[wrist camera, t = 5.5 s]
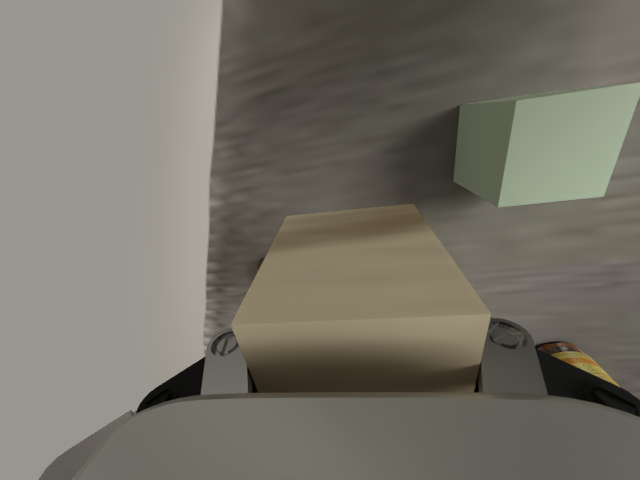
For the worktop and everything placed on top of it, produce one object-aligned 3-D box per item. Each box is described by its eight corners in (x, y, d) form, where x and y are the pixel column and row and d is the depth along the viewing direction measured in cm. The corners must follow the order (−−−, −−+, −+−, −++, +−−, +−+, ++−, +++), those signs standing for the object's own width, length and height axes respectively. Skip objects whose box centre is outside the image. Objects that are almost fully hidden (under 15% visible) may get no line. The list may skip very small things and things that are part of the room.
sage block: (459, 104, 20) (516, 100, 14) (544, 92, 19) (644, 81, 13) (453, 181, 22) (497, 207, 16) (526, 172, 22) (603, 196, 15)
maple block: (286, 216, 12) (230, 324, 6) (413, 203, 12) (491, 314, 6) (306, 308, 15) (280, 447, 9) (410, 303, 14) (460, 452, 8)
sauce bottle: (591, 343, 29) (976, 692, 12) (560, 377, 32) (832, 701, 14) (535, 333, 29) (839, 672, 12) (509, 369, 32) (721, 684, 14)
